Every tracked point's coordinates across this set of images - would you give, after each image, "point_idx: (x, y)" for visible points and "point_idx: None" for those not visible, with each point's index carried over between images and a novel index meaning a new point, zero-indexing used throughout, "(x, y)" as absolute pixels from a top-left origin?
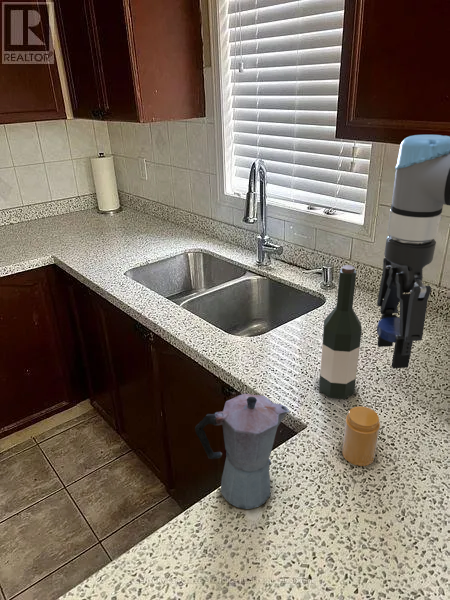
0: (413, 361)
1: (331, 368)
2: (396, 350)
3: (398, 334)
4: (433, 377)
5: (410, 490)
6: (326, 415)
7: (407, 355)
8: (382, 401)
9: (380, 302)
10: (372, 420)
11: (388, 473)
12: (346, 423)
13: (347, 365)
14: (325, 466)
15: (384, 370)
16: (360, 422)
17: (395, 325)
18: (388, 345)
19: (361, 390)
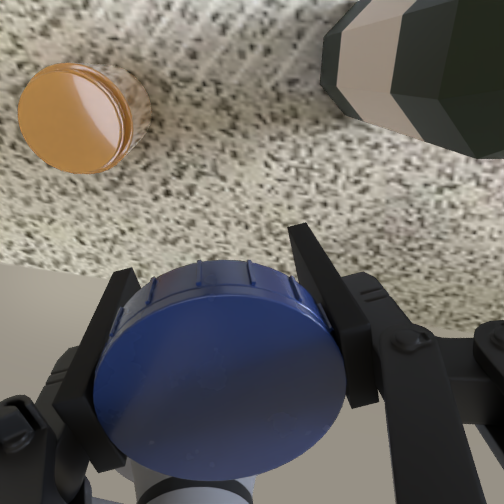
0: (468, 273)
1: (366, 22)
2: (87, 334)
3: (97, 406)
4: (404, 303)
5: (38, 213)
6: (243, 23)
7: None
8: (316, 186)
9: (494, 367)
10: (54, 152)
11: (71, 174)
12: (54, 64)
13: (363, 87)
14: (35, 11)
15: (439, 204)
16: (29, 111)
17: (224, 395)
18: (296, 270)
19: (358, 137)
